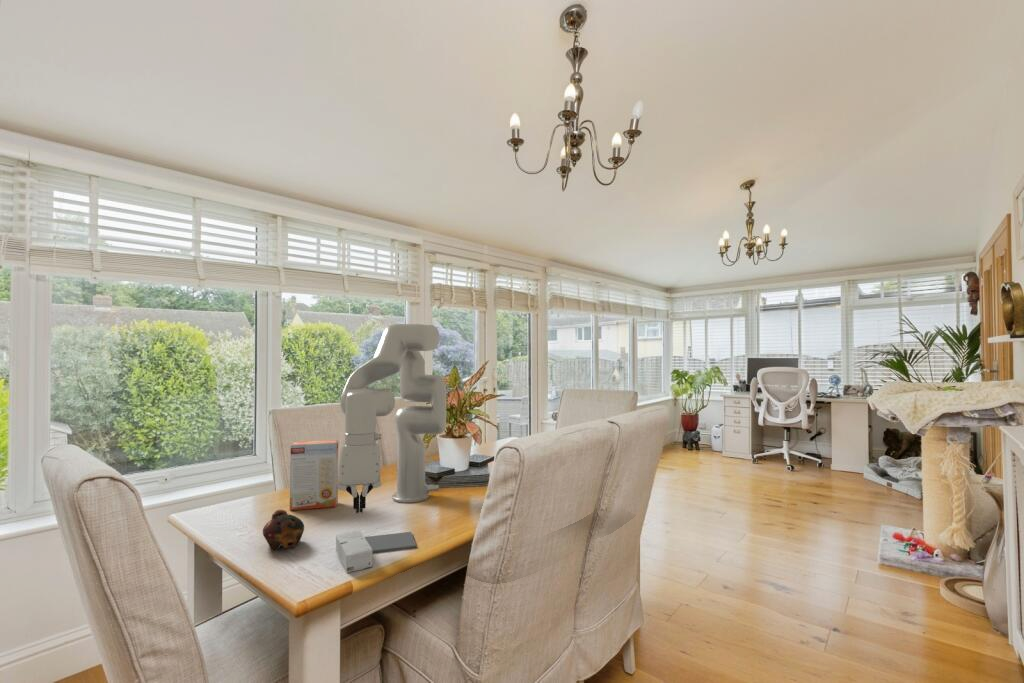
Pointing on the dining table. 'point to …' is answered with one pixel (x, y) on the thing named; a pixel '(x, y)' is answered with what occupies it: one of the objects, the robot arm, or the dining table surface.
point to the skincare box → (354, 551)
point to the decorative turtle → (283, 530)
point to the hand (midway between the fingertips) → (359, 511)
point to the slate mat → (391, 542)
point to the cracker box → (313, 474)
